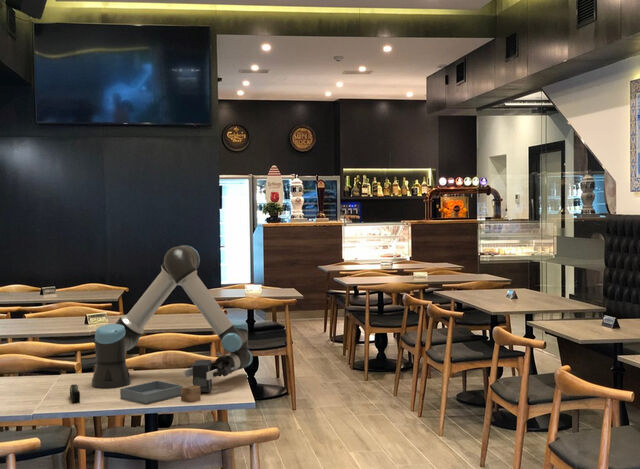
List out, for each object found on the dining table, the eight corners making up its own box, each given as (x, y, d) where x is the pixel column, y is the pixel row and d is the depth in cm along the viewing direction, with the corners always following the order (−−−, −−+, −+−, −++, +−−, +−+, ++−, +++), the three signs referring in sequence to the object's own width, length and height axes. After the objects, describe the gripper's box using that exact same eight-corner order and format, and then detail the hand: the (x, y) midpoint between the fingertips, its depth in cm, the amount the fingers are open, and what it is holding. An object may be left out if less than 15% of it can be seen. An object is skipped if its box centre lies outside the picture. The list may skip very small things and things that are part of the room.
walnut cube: (181, 401, 278) (180, 387, 278) (189, 398, 283) (189, 384, 282) (191, 402, 276) (191, 389, 276) (200, 399, 280) (200, 386, 280)
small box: (195, 386, 298) (194, 359, 298) (212, 386, 298) (211, 359, 298) (192, 392, 288) (191, 364, 287) (209, 392, 288) (208, 364, 288)
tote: (120, 398, 284) (120, 388, 284) (157, 389, 297) (157, 380, 297) (146, 404, 274) (146, 394, 274) (183, 395, 287) (183, 385, 287)
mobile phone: (80, 390, 278) (76, 381, 291) (72, 391, 276) (68, 382, 290) (81, 404, 278) (76, 394, 291) (72, 405, 277) (68, 395, 290)
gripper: (251, 375, 305) (221, 387, 284) (203, 371, 314) (171, 382, 293) (250, 356, 304) (220, 367, 284) (203, 353, 314) (171, 363, 293)
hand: (195, 375), depth 289 cm, fingers closed on small box, 10 cm apart
